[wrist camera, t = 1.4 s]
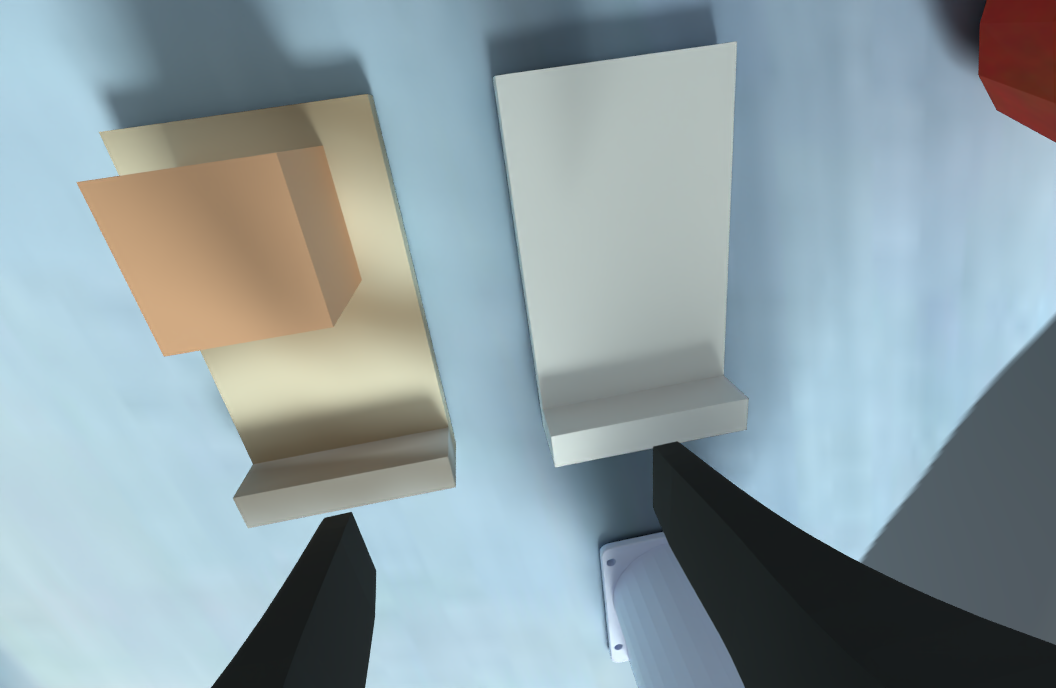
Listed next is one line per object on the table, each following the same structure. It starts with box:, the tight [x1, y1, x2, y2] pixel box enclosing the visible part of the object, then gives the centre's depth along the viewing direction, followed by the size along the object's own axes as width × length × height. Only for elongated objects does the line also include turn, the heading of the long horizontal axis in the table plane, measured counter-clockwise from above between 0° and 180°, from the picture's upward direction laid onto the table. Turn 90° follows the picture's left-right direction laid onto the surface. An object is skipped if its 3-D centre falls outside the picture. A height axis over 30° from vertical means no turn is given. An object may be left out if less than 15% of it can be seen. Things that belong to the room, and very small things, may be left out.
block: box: [77, 146, 362, 356], centre depth 14 cm, size 4×4×4 cm
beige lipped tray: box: [99, 94, 456, 528], centre depth 17 cm, size 14×8×3 cm, turn 8°
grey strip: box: [493, 42, 749, 467], centre depth 18 cm, size 14×8×3 cm, turn 8°
